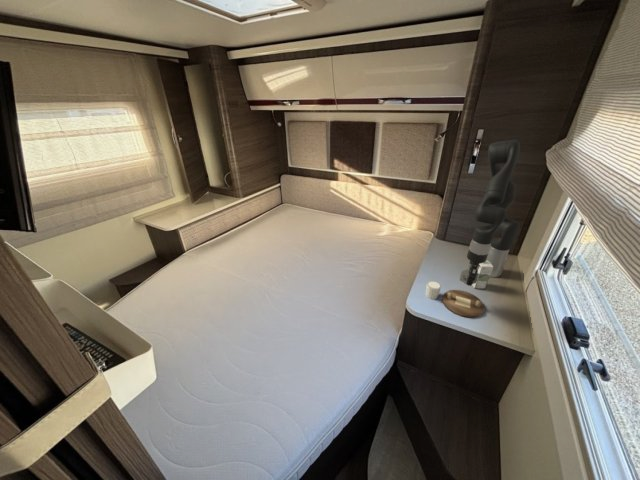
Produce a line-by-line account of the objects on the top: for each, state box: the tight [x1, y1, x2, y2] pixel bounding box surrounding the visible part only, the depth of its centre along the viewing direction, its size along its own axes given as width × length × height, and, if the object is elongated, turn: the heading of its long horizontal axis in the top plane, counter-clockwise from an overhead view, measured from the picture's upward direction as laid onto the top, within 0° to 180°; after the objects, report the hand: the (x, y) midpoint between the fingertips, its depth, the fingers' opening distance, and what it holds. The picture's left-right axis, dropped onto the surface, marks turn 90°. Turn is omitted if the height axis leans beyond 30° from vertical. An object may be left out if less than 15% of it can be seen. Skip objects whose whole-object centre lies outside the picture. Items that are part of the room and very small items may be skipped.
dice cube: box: [459, 268, 479, 286], centre depth 121 cm, size 5×5×5 cm
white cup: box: [425, 280, 442, 300], centre depth 133 cm, size 7×7×7 cm
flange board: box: [441, 289, 485, 319], centre depth 127 cm, size 18×18×4 cm
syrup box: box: [472, 261, 493, 290], centre depth 137 cm, size 6×6×14 cm
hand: (469, 280), depth 121 cm, fingers closed on dice cube, 6 cm apart
